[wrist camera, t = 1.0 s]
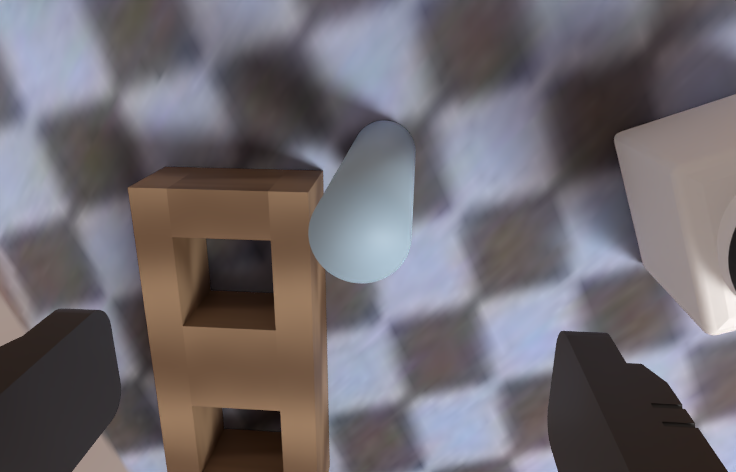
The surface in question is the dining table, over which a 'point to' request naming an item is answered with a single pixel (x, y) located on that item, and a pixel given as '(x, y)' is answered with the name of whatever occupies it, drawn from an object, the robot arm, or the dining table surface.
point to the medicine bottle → (687, 207)
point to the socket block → (234, 318)
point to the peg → (367, 207)
